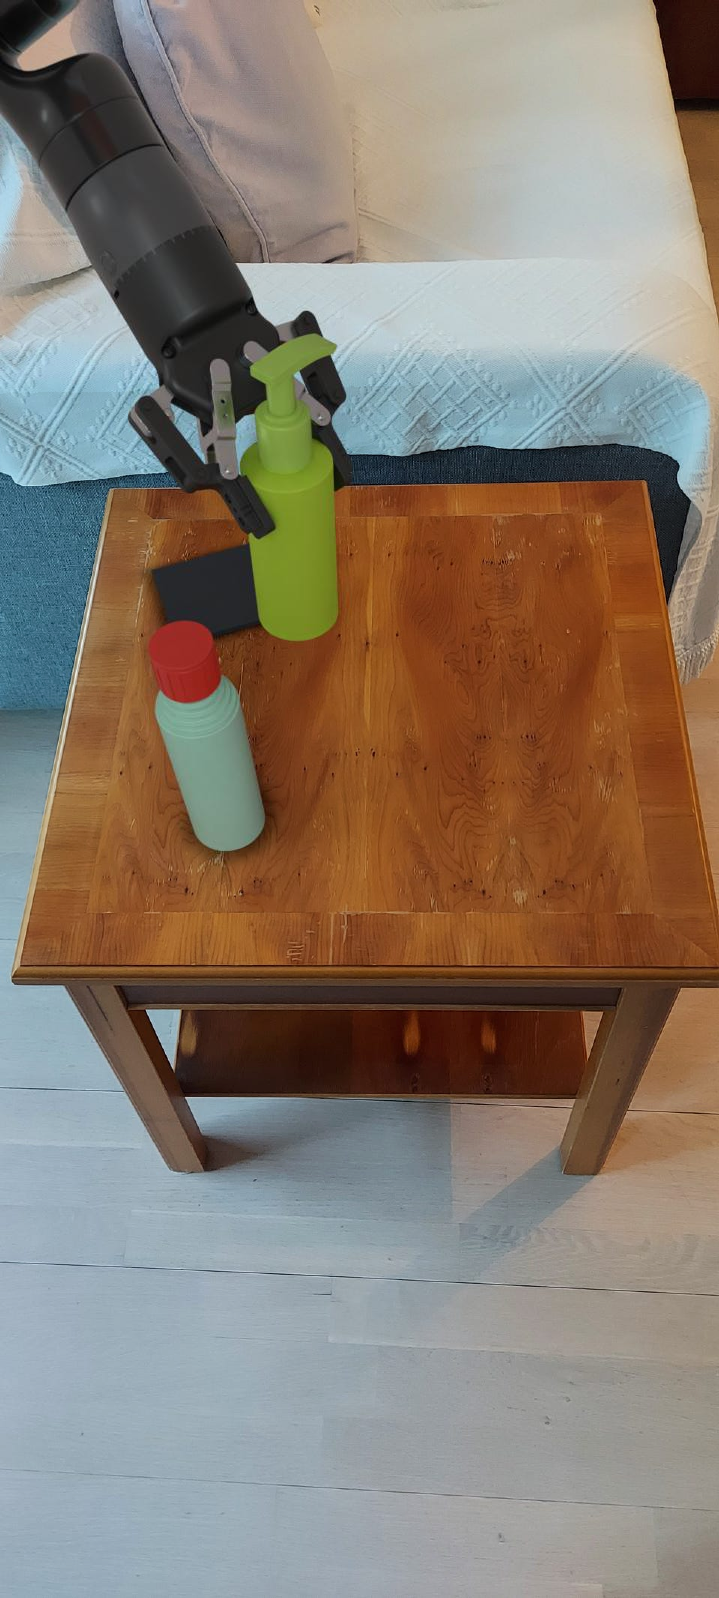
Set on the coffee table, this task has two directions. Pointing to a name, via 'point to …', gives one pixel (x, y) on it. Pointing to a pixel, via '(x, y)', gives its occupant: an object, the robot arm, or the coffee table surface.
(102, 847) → the coffee table surface
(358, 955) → the coffee table surface
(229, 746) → the bottle
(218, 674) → the cap
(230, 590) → the mat
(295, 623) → the soap dispenser
